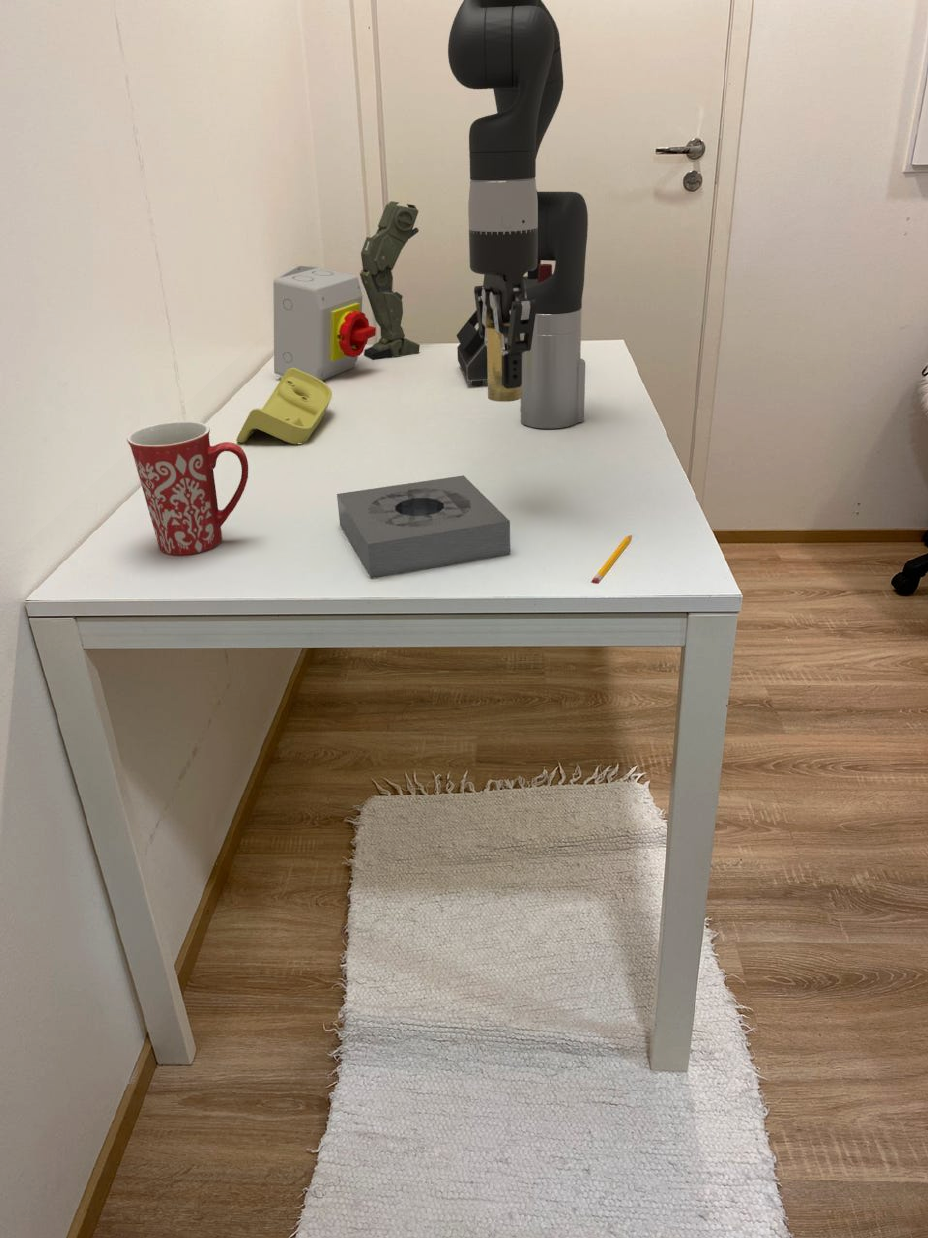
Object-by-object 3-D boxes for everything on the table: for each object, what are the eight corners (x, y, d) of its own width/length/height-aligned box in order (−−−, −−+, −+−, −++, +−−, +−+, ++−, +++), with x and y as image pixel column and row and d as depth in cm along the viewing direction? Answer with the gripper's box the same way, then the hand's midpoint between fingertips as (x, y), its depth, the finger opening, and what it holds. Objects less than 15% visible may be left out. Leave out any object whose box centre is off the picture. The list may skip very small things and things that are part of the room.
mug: (141, 561, 106) (116, 446, 100) (160, 530, 114) (138, 422, 108) (252, 556, 106) (234, 441, 100) (264, 525, 114) (248, 417, 108)
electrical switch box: (340, 398, 173) (344, 287, 162) (273, 380, 178) (273, 271, 167) (380, 379, 185) (386, 274, 174) (316, 362, 189) (318, 259, 179)
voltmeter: (456, 367, 182) (452, 258, 173) (539, 362, 183) (540, 254, 174) (465, 388, 168) (461, 271, 159) (555, 383, 169) (556, 266, 160)
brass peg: (514, 391, 113) (514, 322, 109) (527, 399, 109) (527, 328, 106) (483, 395, 112) (481, 326, 108) (494, 403, 108) (493, 332, 105)
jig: (464, 505, 118) (463, 475, 116) (510, 554, 105) (509, 521, 103) (340, 524, 114) (336, 493, 112) (370, 578, 100) (367, 544, 98)
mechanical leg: (357, 358, 188) (379, 197, 176) (344, 352, 193) (365, 195, 182) (419, 365, 194) (443, 210, 183) (404, 359, 200) (428, 208, 189)
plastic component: (308, 432, 140) (245, 404, 139) (293, 473, 144) (232, 445, 143) (339, 387, 157) (283, 362, 156) (325, 425, 161) (270, 400, 160)
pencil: (591, 585, 98) (590, 579, 98) (628, 537, 108) (628, 531, 108) (598, 586, 98) (598, 579, 97) (635, 537, 108) (634, 531, 108)
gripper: (561, 228, 97) (558, 393, 105) (511, 217, 109) (512, 366, 117) (493, 232, 95) (496, 400, 103) (450, 221, 107) (455, 373, 115)
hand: (504, 381), depth 110 cm, fingers closed on brass peg, 4 cm apart
